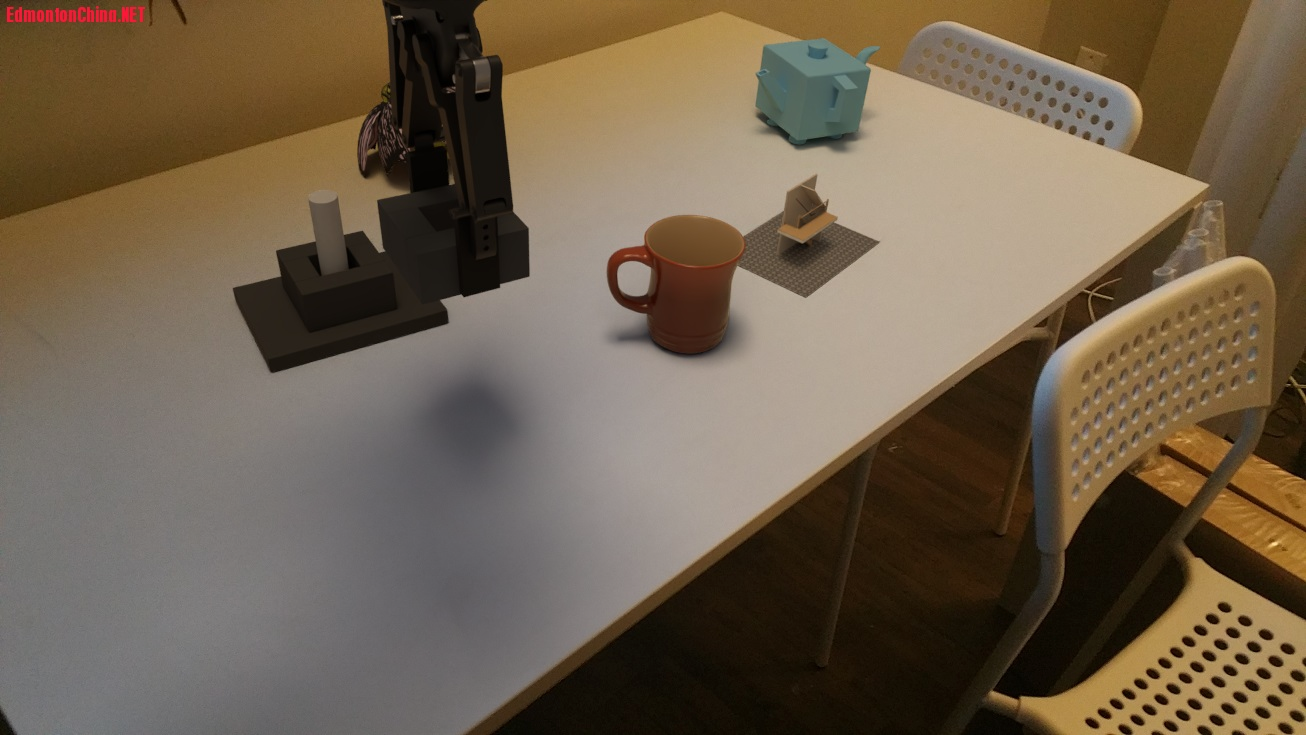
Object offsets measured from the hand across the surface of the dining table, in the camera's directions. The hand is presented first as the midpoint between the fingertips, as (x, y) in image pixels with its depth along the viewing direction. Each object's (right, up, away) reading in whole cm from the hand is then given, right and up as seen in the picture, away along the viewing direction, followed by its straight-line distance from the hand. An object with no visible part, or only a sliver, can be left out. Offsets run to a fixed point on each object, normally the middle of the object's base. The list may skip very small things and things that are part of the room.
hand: (455, 258), depth 71 cm
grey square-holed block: (0, 0, 0) cm, 0 cm away
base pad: (-15, -3, +20) cm, 25 cm away
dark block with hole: (-14, -1, +19) cm, 24 cm away
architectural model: (+30, +5, +34) cm, 46 cm away
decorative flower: (-13, +15, +43) cm, 48 cm away
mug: (+16, -5, +20) cm, 26 cm away
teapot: (+35, +23, +58) cm, 71 cm away
